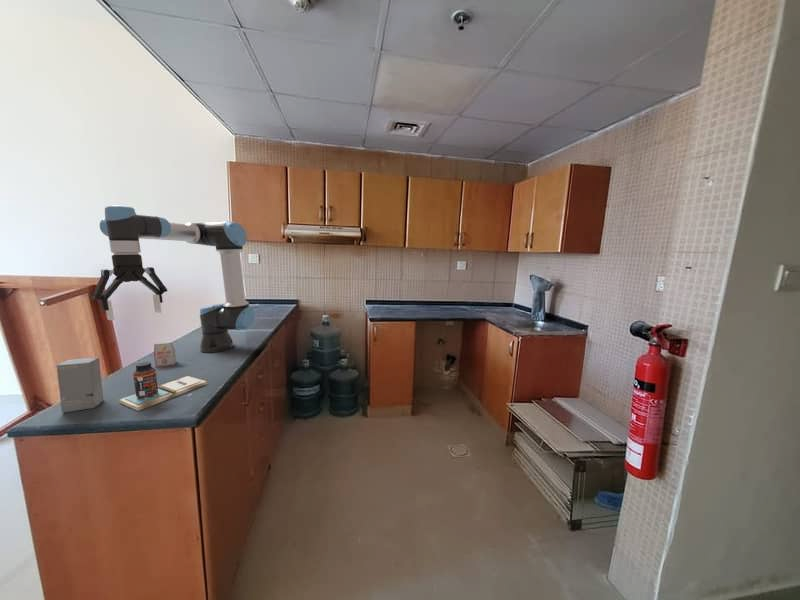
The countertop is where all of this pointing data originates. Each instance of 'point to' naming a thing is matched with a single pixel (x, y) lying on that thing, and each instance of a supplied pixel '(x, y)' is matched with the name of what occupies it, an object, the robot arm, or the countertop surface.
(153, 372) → the supplement bottle
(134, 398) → the teal pad
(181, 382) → the cream pad
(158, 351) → the white product box
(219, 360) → the countertop surface
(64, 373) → the skincare box
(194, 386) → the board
